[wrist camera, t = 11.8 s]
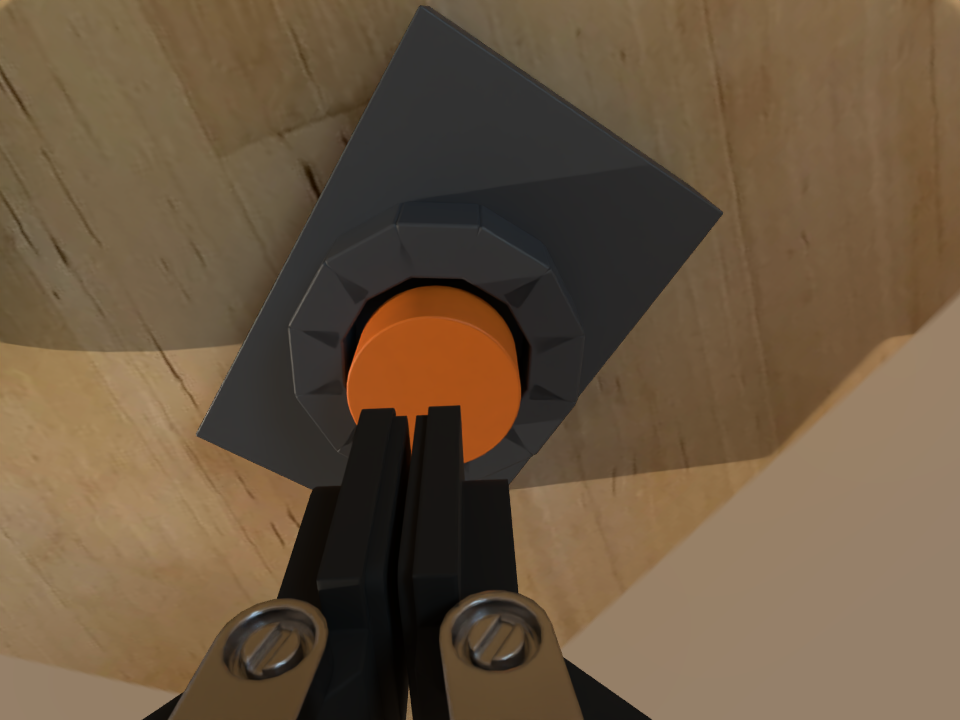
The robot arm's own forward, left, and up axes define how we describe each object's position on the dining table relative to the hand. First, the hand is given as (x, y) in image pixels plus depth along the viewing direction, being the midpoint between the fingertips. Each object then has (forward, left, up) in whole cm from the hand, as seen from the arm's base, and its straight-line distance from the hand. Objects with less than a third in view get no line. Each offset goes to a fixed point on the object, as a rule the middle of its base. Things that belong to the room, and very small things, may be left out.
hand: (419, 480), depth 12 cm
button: (0, 0, -4) cm, 4 cm away
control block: (0, 0, -9) cm, 9 cm away
